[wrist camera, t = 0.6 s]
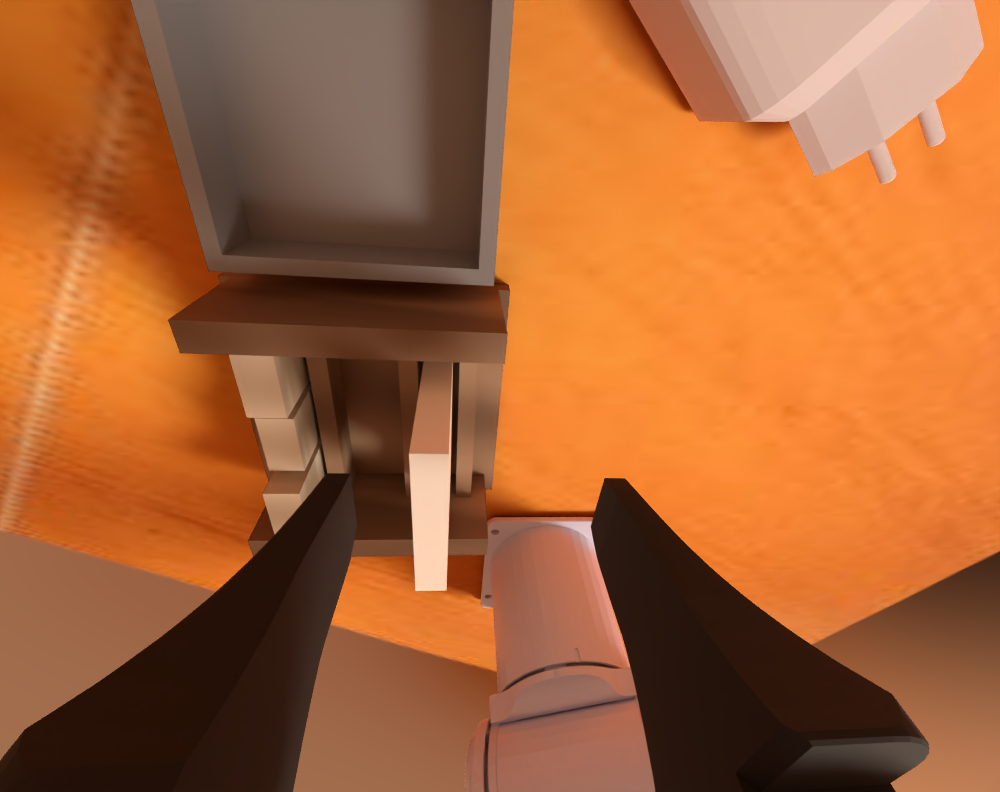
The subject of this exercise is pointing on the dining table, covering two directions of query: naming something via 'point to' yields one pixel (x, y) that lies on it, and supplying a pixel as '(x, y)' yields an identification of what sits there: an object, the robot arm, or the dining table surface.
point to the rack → (373, 383)
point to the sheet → (431, 475)
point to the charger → (818, 66)
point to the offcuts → (283, 428)
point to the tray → (337, 132)
